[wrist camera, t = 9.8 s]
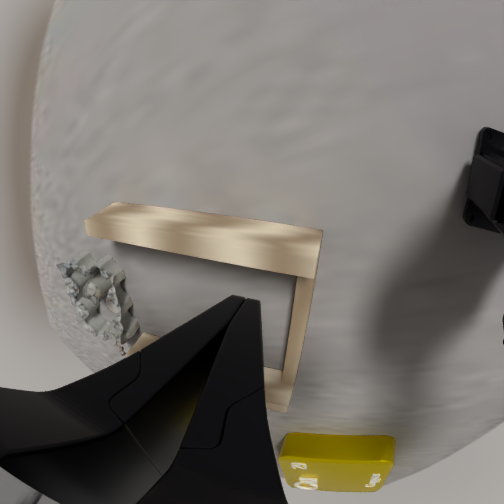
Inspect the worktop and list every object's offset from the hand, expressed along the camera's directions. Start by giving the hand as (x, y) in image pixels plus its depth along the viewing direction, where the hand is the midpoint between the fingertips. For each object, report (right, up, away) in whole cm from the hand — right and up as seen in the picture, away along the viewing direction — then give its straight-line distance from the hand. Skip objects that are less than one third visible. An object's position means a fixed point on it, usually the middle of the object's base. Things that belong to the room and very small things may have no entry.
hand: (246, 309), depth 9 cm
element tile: (+13, -27, +27) cm, 40 cm away
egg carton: (-15, -3, +22) cm, 27 cm away
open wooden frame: (-3, -3, +17) cm, 18 cm away
